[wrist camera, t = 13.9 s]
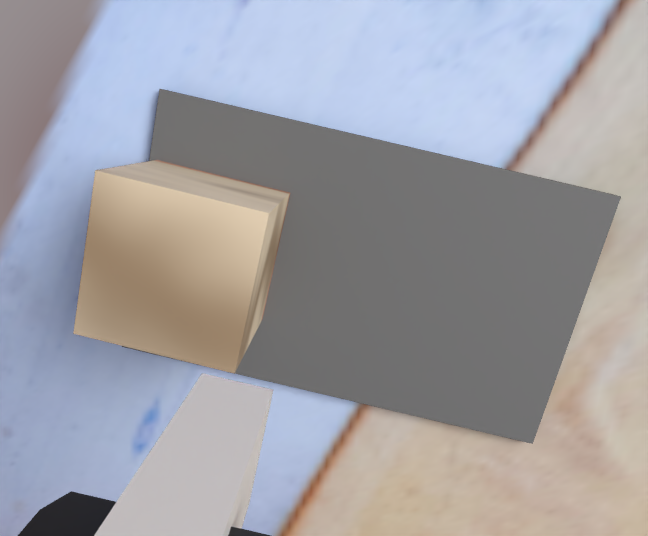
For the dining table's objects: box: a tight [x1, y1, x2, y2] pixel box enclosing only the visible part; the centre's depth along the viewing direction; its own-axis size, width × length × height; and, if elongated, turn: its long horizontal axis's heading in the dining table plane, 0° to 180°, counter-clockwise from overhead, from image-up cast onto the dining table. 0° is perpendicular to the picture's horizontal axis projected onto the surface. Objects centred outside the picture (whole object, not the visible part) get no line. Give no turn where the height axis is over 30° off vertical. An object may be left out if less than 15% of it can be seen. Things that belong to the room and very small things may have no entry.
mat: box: [122, 89, 621, 444], centre depth 26 cm, size 12×20×1 cm, turn 77°
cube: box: [73, 160, 290, 374], centre depth 23 cm, size 6×6×6 cm
